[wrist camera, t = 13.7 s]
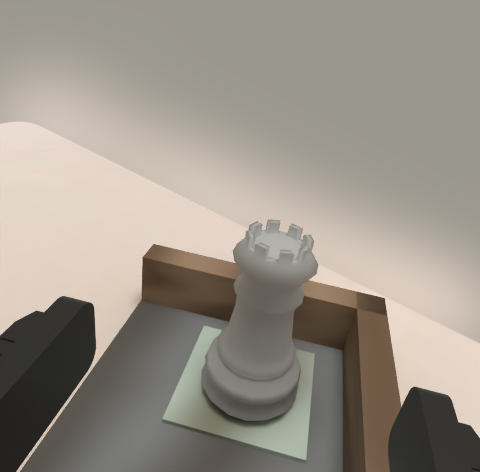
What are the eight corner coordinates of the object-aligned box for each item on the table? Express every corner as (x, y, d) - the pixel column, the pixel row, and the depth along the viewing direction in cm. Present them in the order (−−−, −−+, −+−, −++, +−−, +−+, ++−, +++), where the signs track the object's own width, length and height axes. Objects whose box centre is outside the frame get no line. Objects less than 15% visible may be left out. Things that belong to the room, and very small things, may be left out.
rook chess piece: (251, 337, 22) (279, 200, 18) (316, 395, 19) (365, 249, 15) (180, 374, 19) (195, 222, 15) (243, 448, 16) (281, 286, 13)
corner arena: (-77, 624, 11) (-112, 563, 10) (151, 293, 25) (153, 244, 24) (400, 805, 10) (456, 771, 8) (365, 346, 24) (384, 298, 22)
